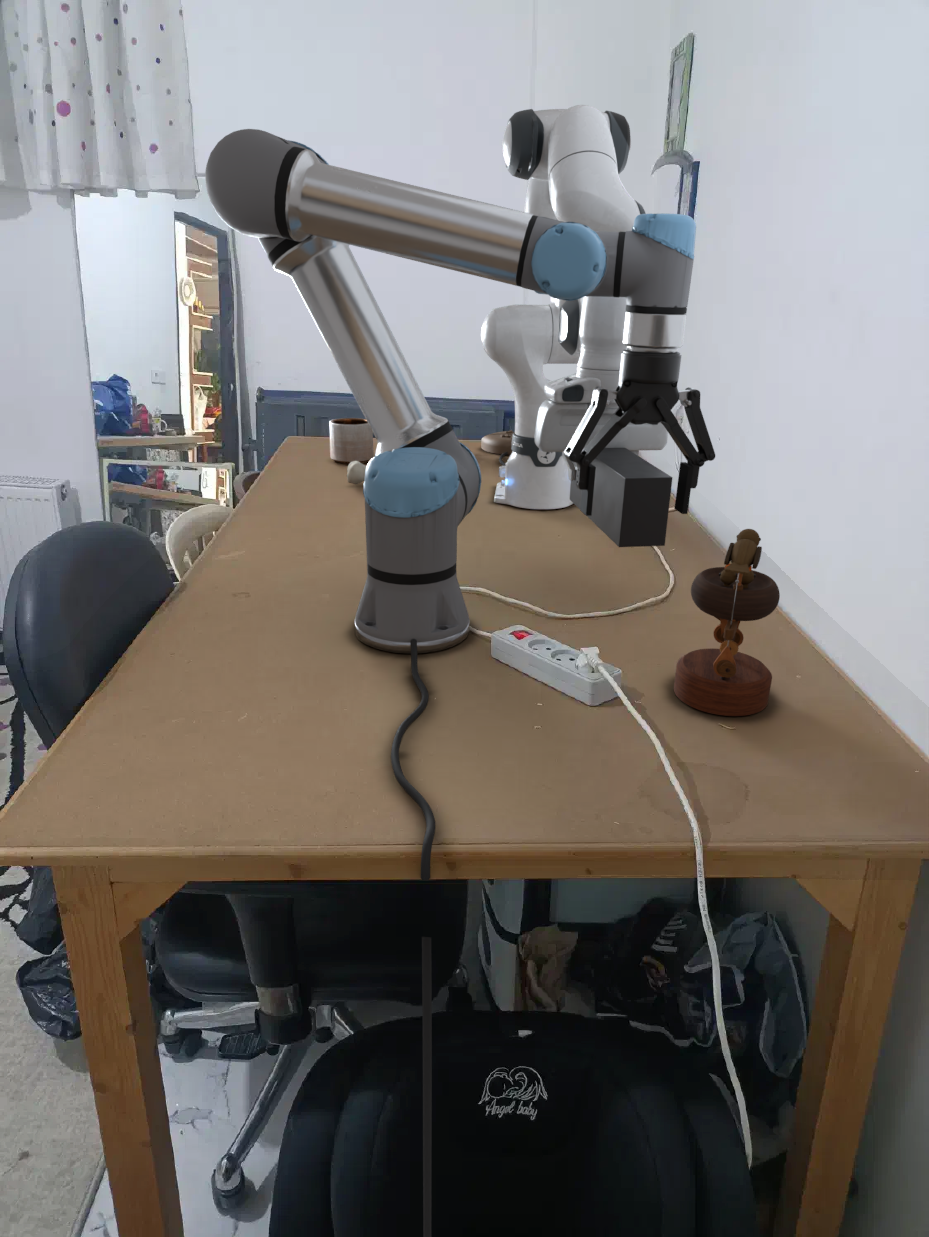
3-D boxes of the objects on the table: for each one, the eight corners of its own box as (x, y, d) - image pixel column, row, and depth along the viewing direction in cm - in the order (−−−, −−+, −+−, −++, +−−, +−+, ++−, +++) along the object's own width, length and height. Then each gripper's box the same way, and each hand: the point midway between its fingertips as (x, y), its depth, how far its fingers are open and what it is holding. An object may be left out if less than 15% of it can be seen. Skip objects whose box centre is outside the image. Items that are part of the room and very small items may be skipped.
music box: (786, 726, 90) (801, 547, 83) (681, 727, 92) (686, 551, 84) (757, 665, 104) (767, 507, 97) (666, 666, 106) (669, 511, 98)
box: (664, 545, 114) (672, 477, 110) (618, 547, 113) (625, 478, 109) (608, 498, 136) (613, 440, 133) (569, 499, 135) (573, 440, 132)
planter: (327, 456, 217) (325, 418, 214) (369, 454, 220) (368, 417, 217) (334, 465, 208) (332, 425, 204) (377, 463, 211) (376, 424, 207)
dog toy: (434, 479, 195) (434, 457, 194) (437, 485, 190) (437, 463, 188) (346, 480, 192) (345, 459, 190) (347, 487, 187) (346, 464, 185)
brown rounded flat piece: (486, 464, 211) (486, 447, 210) (479, 443, 237) (479, 428, 235) (569, 465, 212) (571, 448, 211) (554, 443, 238) (554, 428, 236)
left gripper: (730, 348, 112) (707, 503, 120) (548, 344, 108) (538, 506, 116) (757, 353, 106) (731, 518, 114) (564, 350, 101) (552, 521, 110)
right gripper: (664, 384, 130) (654, 473, 135) (534, 384, 127) (530, 475, 132) (680, 390, 124) (669, 482, 129) (544, 390, 121) (539, 485, 126)
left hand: (633, 512), depth 115 cm, fingers open, 13 cm apart
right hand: (598, 479), depth 131 cm, fingers closed on box, 6 cm apart
